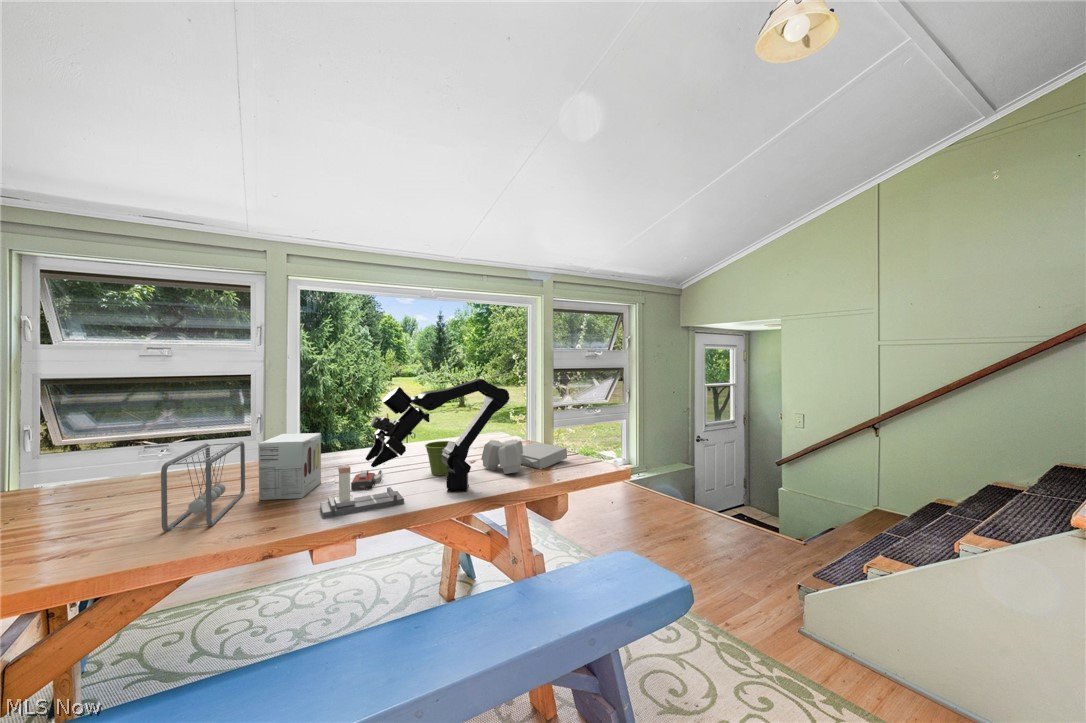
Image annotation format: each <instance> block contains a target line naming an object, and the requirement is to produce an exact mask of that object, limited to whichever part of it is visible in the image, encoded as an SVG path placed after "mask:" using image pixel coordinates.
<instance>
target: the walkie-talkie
mask: <svg viewBox="0 0 1086 723" xmlns="http://www.w3.org/2000/svg"><path fill="white" fill-rule="evenodd" d="M382 472H383V471H382V470H381V469H380V470H378V473H375V472H369V470H361V471H360V472H359V473H357V474H356V475H355V476H354V477H353V479H352V481H351V482H350V491H358V490H359V491H361V490H371V489H372V488H373V487H374V485H377V484H379V483H380V482H381V480H382Z"/></svg>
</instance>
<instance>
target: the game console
mask: <svg viewBox="0 0 1086 723" xmlns="http://www.w3.org/2000/svg"><path fill="white" fill-rule="evenodd" d="M566 459H568V452H567V447H563V446H560V445H559V446H558V445H554V444H548V443H543V442H537V441H533V442H531V443H528V444H525V445H523V443H522V441H521V440H517V439H510V440H505V441H504V442H501V441H499V440H495V439H494V440H493V439H491V440H489V441H488V442H487V443H485V444H484V446H483V449H482V454H481V460H482V466H483V467H484V468H486V470H492V469H495V470H496V469H497V468H498V466H499V467H500V468H502V471H503V473H504V475H507V474H508V475H509V474H513V473H519V472H521V464H523V465H522V466H525V465H526V467H529V466H530V467H529V468H533V467H534V469H537V468H538V469H537V470H543V469H542V468H544V469H546V468H548V467H550V466H552V465H554V464H558V463H560V462H561V461H563V460H566Z"/></svg>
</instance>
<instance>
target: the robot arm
mask: <svg viewBox="0 0 1086 723" xmlns="http://www.w3.org/2000/svg"><path fill="white" fill-rule="evenodd" d="M477 392H478V393H480V394H482V395H483V396H485V397H484V399H483V404H482V406H481V408H480V409H479V411H478V412H477V414H475V416H474V418H472V420H471V422H469V424H468V426H467V427H466V429H465V430H464V431H463V432H462V433H461V435H460V437H459V438H458V439H457V440H456V441H452V442H451V440H450V441H449V440H448V441H449V443H448V444H447V446H446V448H445V449H443V450H442V451H443V453H442V455H441V459H442V462H443V463H444V464H445V465H446V466H447V469H449V472H448V474H447V475H446V478H445V479H446V480H445V481H446V484H445V485H446V493H449V492H450V493H455V492H456V493H458V492H459V493H463V492H464V493H465V492H468V489H469V487H470V484H469V473H470V471H471V469H472V466H471V465H470V464H469V463H468V462H466V460H467V457H468V455H469V454H468V453H469V450H470V447H471V445H472V444H474V441H475V440H476V439H477V437H478V436H479V435H480V433H481V432H482V430H484V428H485V426H486V425H487V423H488V422H489V421H490V419H491V418H492V417H493V415H494V414H495V413H497V412H498V411H500V410H502V408H504V406H506V405H507V404H508V402H509V401H510V393H509V391H508V390H507V389H505V388H501V387H497V386H496V385H493V384H491V383H489V382H487V381H486V380H485V379H482V378H474V379H473V380H470V381H467V382H464V383H460V384H457V385H454V386H451V387H447V388H443V389H436V390H435V389H434V390H425V391H422V392H420V393H419V394H418V395H415V396H409V395H408V394H407V393H406V392H405V391H404V389H403V388H401V387H400V386H397V387H396V388H394V389H393V390H392V391H390V392H388V393H387V394H386V395H385V397H384V398H383V399H382V401H381V403H383V404H384V405H385V406H386V407H387V408H388V409H389V410H390V411H392V413H394V414H395V415H397V414H401V415H400V416H399V417H398V419H396V418H395V419H393V420H392V421H390V418H389V417H386V416H383V417H379V416H373V419H372V420H371V423H370V425H369V426H370V427H371V428H374V429H376V431H375V432H373V433H374V435H373V440H374V442H373V443H372V447H371V448H370V450H369V451H368V453H367V455H366V457H365V460H366V461H367V462H369V461H372V460H373V459H374V460H373V461H372V462H371V464H370V467H372V468H377V467H378V466H380V465H382V464H384V463H387V462H388V461H391V460H393V459H396V458H398V457H399V455H400V457H402V456H403V455H404V454H405V453H406V451H407V449H406V446H405V445H404V443H403V441H404V440H405V439H406V438H407V437H408V436H412V435H413V430H414V429H415V428H416V427H417V426H418V425H419V424H420V423H421V421H424V422H427V423H430V413H428V412H424V411H423V410H425V411H430V412H431V411H434V410H436V409H438V408H440V407H441V406H443V405H445V404H446V403H447V402H449V401H452V400H455V399H458V398H462V397H464V396H468V395H470V394H474V393H477ZM414 405H415V406H417V408H416V407H414ZM422 409H423V410H422ZM453 442H454V443H453Z"/></svg>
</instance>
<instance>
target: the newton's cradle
mask: <svg viewBox="0 0 1086 723" xmlns="http://www.w3.org/2000/svg"><path fill="white" fill-rule="evenodd" d="M222 445H223V446H224V445H226V446H225V447H223V448H220V446H222ZM227 445H228V446H227ZM212 446H213V449H215V448H219V449H218V451H216V452H215V451H213V452H212V451H211V448H212ZM214 446H219V447H214ZM245 446H246V445H245V442H244V441H238V442H228V443H227V442H225V443H211V444H209V443H206V442H205V443H203V444H201V445H199V446H197V447H195V448H193V449H191V450H188V451H187V452H185V453H182V454H181V455H179V456H177V457H175V458H173V459H170V460H169V461H167V462H165V463H164V464H163V465H162V466H161V470H160V493H161V494H160V495H161V496H160V500H161V501H160V503H161V504H160V506H161V529H162V531H164V532H166V531H167V532H168V531H171V530H174V529H183V528H192V527H201V526H208V527H212V526H214V525H216V523H217V522H218V521H220V519H222V517H223V516H224V515H225V514H226V513H227V512H228V511H229V510H230V509H231V508H232V507H233V506H234V505H235V504H236V503H237V502H238V501H239V500H240V499H241V498H242V497H243V496H244V495H245V491H246V468H245V467H246V450H245V448H246V447H245ZM239 447H240V451H239V452H240V493H237V494H228V495H223V494H224V493H225V492H226V490H227V488H226V485H225V484H224V483H221V479H222V475H223V470H224V465H225V460H226V455H227V454H229V453H230V452H232V451H234V450H236V449H237V448H239ZM200 453H202V454H203V455H202V458H201V457H200V455H199V454H200ZM211 453H213V454H211ZM196 455H197V460H198V461H194V458H193V457H195V456H196ZM222 458H224V459H223V464H222V469H221V473H220V477H219V482H217V480H218V475H219V470H220V466H221V461H222ZM190 459H191V460H192V461H190ZM200 459H203V460H202V461H201V460H200ZM218 460H219V464H218V467H217V469H218V470H217V474H216V473H215V470H216V466H217V461H218ZM184 461H185V462H184ZM204 463H205V468H204V472H203V468H202V464H204ZM213 463H214V466H213ZM190 464H193V467H194V471H195V474H196V480H197V482H198V487H199V494H198V495H199V496H197V497H196V495H195V494H196V493H195V490H194V486H193V482H192V476H191V474H190V473H191V472H190V468H189V465H190ZM196 464H199V467H200V471H201V473H202V476H203V477H202V482H201V484H200V481H199V478H198V473H197V470H196V466H195V465H196ZM175 465H186V467H187V471H188V475H189V480H190V483H191V486H192V487H191V488H192V492H193V495H194V499H193V500H192V501H191V502H190V503H188V507H187V508H188V510H186V511H185V512H184V513H183V514H181V515H180V516H178V517H177V518H176V519H174V521H172V522H171V523H170V524H168V468H169V467H170V466H175ZM212 471H213V473H212ZM214 479H215V483H214V484H213V480H214ZM203 483H204V486H205V490H204V491H203V493H202V488H203ZM200 485H201V486H200ZM228 497H229V498H230V497H235V498H234V499H233V500H232V501H230V503H228V504H227V505H226V506H225V507H224V508H223V509H222V510H221V511H220V512H219V513H218V514H217V515H216V516H215V517H214V518H212V517H213V512H212V509H213V508H212V506H213V505H212V504H213V503H214V502H215V501H216V499H218V498H228ZM204 510H205V514H206V515H205V517H206V519H205V521H206V523H201V524H190V525H182V526H177V525H178V524H179V523H180V522H182V521H183V520H184V519H186V517H188V516H189V515H190V514H197V515H198V514H201V513H203V511H204ZM188 514H189V515H188ZM187 515H188V516H187ZM182 519H183V520H182ZM181 520H182V521H181ZM177 523H178V524H177ZM176 524H177V525H176ZM170 529H171V530H170Z"/></svg>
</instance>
